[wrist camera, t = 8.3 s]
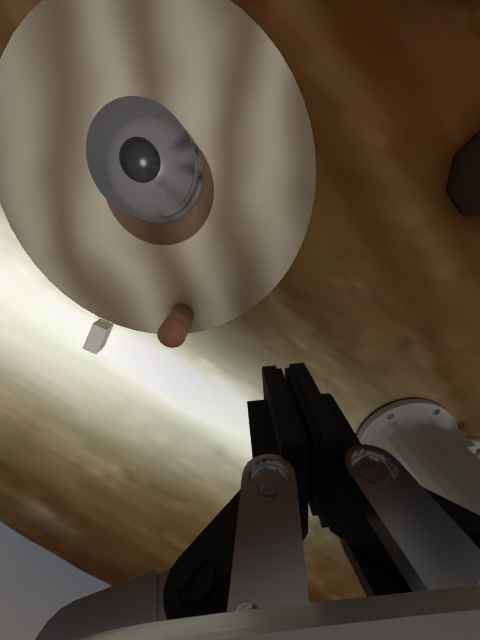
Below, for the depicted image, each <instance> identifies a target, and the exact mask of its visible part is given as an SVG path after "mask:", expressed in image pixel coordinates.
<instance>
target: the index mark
mask: <svg viewBox="0 0 480 640" xmlns="http://www.w3.org/2000/svg"><path fill="white" fill-rule="evenodd" d="M112 327H113V324H111V323H109V322H106V321H104V320H102V319H99V320H97V321H96V322H95V323H93V325H92V327H91V329H90V332H89V334H88V337H87V339H86V341H85V344H84V346H83V349H85V350H88V351H90V352H92V353H94V354H97V353H98V352H99V351H100V350H101V349H102V348H103V347H104V345H105V342H106V340H107V338H108V336H109V333H110V331H111V329H112Z"/></svg>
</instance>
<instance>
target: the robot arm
mask: <svg viewBox="0 0 480 640" xmlns="http://www.w3.org/2000/svg"><path fill="white" fill-rule="evenodd" d="M262 376H263V391H264V400H257V401H247V405H248V415H249V426H250V436H251V445H252V455H253V459H252V460H250V461H249V462H248V463H247V465H246V466H245V468H244V471H243V474H242V481H241V489H240V491H239V492H238V493H237V494H236V495H235V496H234V497H233V498H232V499H231V500H230V502H229V503H228V504H227V505H226V506H225V507H224V508H223V509H222V510H221V512H220V513H219V514H218V515H217V516H216V517H215V518H214V519H213V520H212V521H211V523H210V524H209V525H208V526H207V527H206V528H205V529H204V530H203V531H202V533H201V534H200V535H199V536H198V537H197V538H196V539H195V540H194V541H193V542H192V544H191V545H190V546H189V547H188V548H187V549H186V550H185V551H184V552H183V554H182V555H181V556H180V557H179V558H178V559H177V561H176V562H175V563H174V565H173V566H172V568H170V569H168V570H165V571H163V572H160V573H158V571H157V569H155V570H152V571H150V572H147V573H145V574H142V575H140V576H137V577H134V578H132V579H129V580H127V581H124V582H121V583H119V584H116V585H114V586H111V587H109V588H106V589H103V590H101V591H98V592H96V593H93V594H90V595H88V596H85V597H83V598H80V599H78V600H75V601H73V602H71V603H69V604H68V605H66V606H64V607H62V608H61V609H60V610H59V611H58V612H57V613H56V614H55V615H54V616H53V617H52V618H50V619H49V620H48V621H47V623H46V624H45V626H44V627H43V629H42V630H41V632H40V633H39V634H38V636H37V637H36V640H480V436H474V437H470V438H468V437H467V436H465V435H463V434H462V433H461V432H460V431H459V430H458V427H457V423H456V421H455V419H454V417H453V416H452V415H451V414H450V413H449V411H447V410H446V409H445V408H444V407H442V406H441V405H439V404H437V403H435V402H433V401H430V400H426V399H406V400H401V401H397V402H394V403H392V404H389V405H387V406H385V407H383V408H381V409H380V410H378V411H376V412H375V413H374V414H373V415H372V416H370V417H369V418H368V419H367V420H366V422H365V423H364V424H363V425H362V427H361V428H360V430H359V432H358V434H357V436H356V434H355V433H354V431H353V429H352V428H351V426H350V424H349V423H348V421H347V420H346V418H345V416H344V415H343V413H342V411H341V410H340V408H339V406H338V405H337V403H336V401H335V400H334V398H333V397H332V395H331V394H329V393H327V394H321V393H320V391H319V389H318V388H317V386H316V384H315V382H314V380H313V378H312V377H311V375H310V373H309V371H308V369H307V368H306V366H305V364H304V363H295V364H290V365H289V368H285V377H284V374H283V372H282V369H277V368H276V366H265V367H262ZM308 502H309V506H310V509H311V512H312V515H313V516H316V515H318V516H319V519H320V522H321V526H322V528H324V527H329V529H330V531H332V532H333V533H334V534H336V535H337V536H338V537H340V541H341V544H342V547H343V550H344V552H345V554H346V556H347V558H348V560H349V562H350V564H351V566H352V568H353V570H354V572H355V574H356V576H357V578H358V580H359V582H360V584H361V586H362V589H363V591H364V593H365V595H366V597H362V598H352V599H343V600H334V601H324V602H315V603H309V599H308V589H307V579H306V569H305V559H304V549H303V540H304V539H305V537H306V535H307V534H308Z"/></svg>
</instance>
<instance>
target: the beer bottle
mask: <svg viewBox="0 0 480 640" xmlns="http://www.w3.org/2000/svg"><path fill="white" fill-rule="evenodd" d="M447 191H448V192H449V194H450V195H451V197H452V199H453V200H454V202H455V203H456V205H457V206H458V208H459V209H460V211H461V212H462V213H463V214H464V215H480V133H478V134H477V135H476V136H475V137H474V138H473V139H472V140H471V141H470V142H469V143H468V144H467V145H466V146H465V147H464V148H462V149H461V150H460V151H459V152H458V153H457V154H456V155H455V159H454V163H453V167H452V172H451V176H450V180H449V185H448V189H447Z"/></svg>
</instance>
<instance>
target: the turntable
mask: <svg viewBox="0 0 480 640" xmlns="http://www.w3.org/2000/svg"><path fill="white" fill-rule="evenodd" d="M125 96H141V97H145V98H149V99H151V100H154V101H156V102H158V103H160V104H161V105H163V106H164V107H166V108H167V109H168V110H169V111H170V112H172V114H173V115H174V116H175V117H176V118H177V119H178V120H179V122H180V123H181V124H182V126H183V127H184V128H185V129H186V130H187V131H188V133H189V134H190V135H191V137H192V138H193V140H194V142H195V143H196V145H197V148H198V150H199V152H200V155H201V158H202V162H203V168H204V183H203V189H202V192H201V195H200V197H199V200H198V201H197V203H196V205H195V206H194V207H193V209H192V210H191V211H190V212H189V213H188V214H186V215H185V216H184V217H182V218H180V219H178V220H176V221H172V222H168V223H154V222H148V221H145V220H142V219H139V218H137V217H136V216H132V215H130V214H127V213H125V212H123V211H121V210H119V209H118V208H116V207H115V206H113V205H112V204H111V203H110V202H109V201H108V200H107V199H106V198H105V197H104V196H103V195H102V193H101V192H100V191H99V189H98V188H97V186H96V184H95V183H94V181H93V179H92V176H91V174H90V171H89V168H88V164H87V159H86V139H87V134H88V130H89V127H90V125H91V122H92V120H93V119H94V117H95V116H96V114H97V113H98V112H99V111H100V109H101V108H102V107H104V106H105V105H106V104H107V103H109V102H111V101H113V100H115V99H117V98H120V97H125ZM315 186H316V158H315V146H314V140H313V134H312V128H311V123H310V120H309V116H308V113H307V109H306V106H305V103H304V99H303V97H302V95H301V92H300V90H299V88H298V85H297V83H296V81H295V78H294V76H293V74H292V72H291V71H290V69H289V67H288V65H287V64H286V62H285V60H284V59H283V57H282V55H281V53H280V52H279V50H278V49H277V48H276V46H275V45H274V44H273V43H272V41H271V40H270V39H269V37H268V36H267V35H266V33H265V32H264V31H263V30H262V29H261V28H260V27H259V26H258V25H257V24H256V23H255V22H254V21H253V20H252V19H251V18H250V17H249V16H248V15H247V14H246V13H245V12H244V11H243V10H242V9H241V8H240V7H238V6H237V5H236V4H234V3H233V2H232V1H230V0H42V1H41V2H40V3H39V4H38V5H37V6H36V7H35V8H33V9H32V10H31V11H30V12H29V13H28V15H27V16H26V17H25V19H24V20H23V21H22V23H21V24H20V25H19V27H18V28H17V29H16V31H15V32H14V33H13V35H12V37H11V39H10V41H9V43H8V45H7V46H6V48H5V50H4V52H3V54H2V56H1V59H0V203H1V206H2V208H3V210H4V213H5V215H6V217H7V219H8V222H9V224H10V226H11V228H12V230H13V232H14V233H15V235H16V237H17V239H18V240H19V242H20V244H21V245H22V247H23V248H24V250H25V251H26V253H27V254H28V255H29V257H30V258H31V259H32V261H33V262H34V264H35V265H36V266H37V267H38V268H39V269H40V271H41V272H42V273H43V274H44V275H45V276H46V277H47V278H48V279H49V281H50V282H52V283H53V284H54V285H55V286H56V287H57V288H58V289H59V290H60V291H62V292H63V293H64V294H65V295H66V296H67V297H69V298H70V299H72V300H73V301H74V302H76V303H77V304H78V305H80V306H81V307H83V308H85V309H86V310H88V311H90V312H91V313H93V314H95V315H97V316H98V317H101V318H103V319H105V320H107V321H110V322H112V323H114V324H117V325H120V326H123V327H126V328H130V329H133V330H137V331H143V332H148V333H156V334H157V336H158V339H159V341H160V342H161V343H162V344H163V345H165V346H167V347H170V348H174V347H178V346H180V345H181V344H183V342H184V341H185V338H186V336H187V333H193V332H198V331H204V330H207V329H210V328H214V327H217V326H220V325H222V324H224V323H227V322H229V321H231V320H233V319H235V318H237V317H239V316H240V315H242V314H244V313H245V312H247V311H249V310H250V309H251V308H253V307H254V306H255V305H257V304H258V303H259V302H260V301H262V300H263V299H264V298H265V297H266V296H267V295H268V294H269V293H270V292H271V291H272V290H273V289H274V288H275V287H276V286H277V284H278V283H279V282H280V280H281V279H282V278H283V276H284V275H285V274H286V273H287V271H288V269H289V268H290V266H291V264H292V263H293V261H294V259H295V258H296V256H297V254H298V252H299V249H300V247H301V245H302V242H303V240H304V238H305V235H306V232H307V229H308V225H309V222H310V219H311V214H312V209H313V203H314V197H315Z"/></svg>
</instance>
